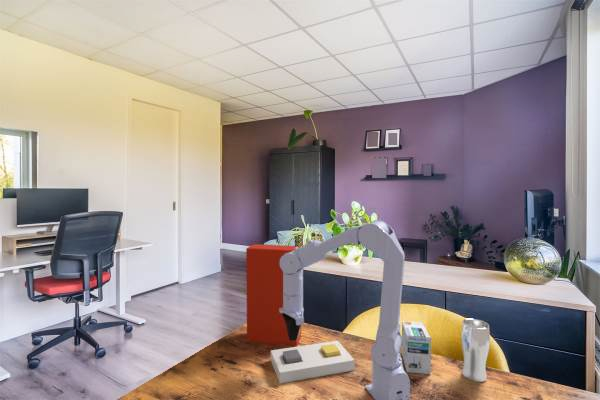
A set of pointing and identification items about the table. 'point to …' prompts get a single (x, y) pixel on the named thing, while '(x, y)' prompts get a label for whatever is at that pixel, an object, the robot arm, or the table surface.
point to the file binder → (266, 295)
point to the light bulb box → (416, 347)
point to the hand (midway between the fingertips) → (292, 339)
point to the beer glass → (475, 349)
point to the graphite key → (291, 356)
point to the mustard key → (330, 350)
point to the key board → (311, 363)
